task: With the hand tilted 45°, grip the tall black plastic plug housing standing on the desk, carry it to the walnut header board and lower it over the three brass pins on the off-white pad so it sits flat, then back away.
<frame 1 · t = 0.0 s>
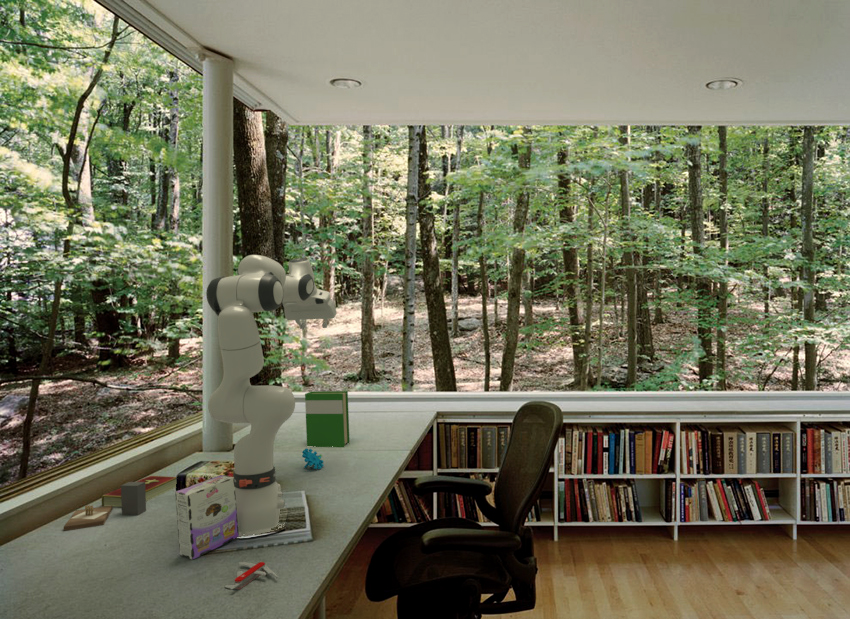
hand: (313, 327, 214), 54 cm above the table, tool tilted 30°, fingers open, 8 cm apart
plug housing: (134, 512, 166), on the table
header board: (89, 519, 162), on the table
candy box: (210, 546, 139), on the table, touching arm
swiss army knife: (247, 582, 120), on the table
gear: (313, 468, 208), on the table
hardback book: (328, 445, 244), on the table
hardcover book: (141, 497, 182), on the table
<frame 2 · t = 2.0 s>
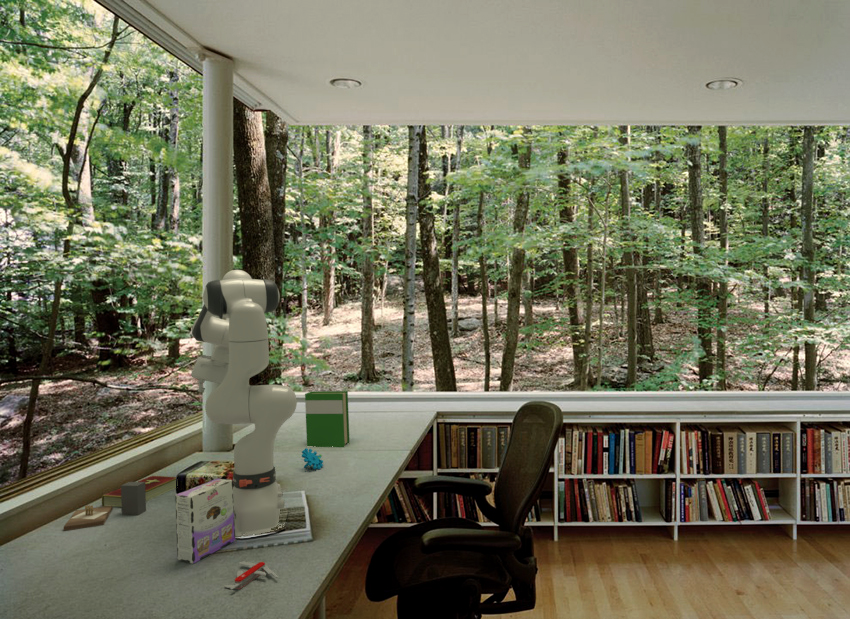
hand: (212, 394, 199), 31 cm above the table, tool tilted 20°, fingers open, 8 cm apart
candy box: (207, 551, 137), on the table
everything else where it was.
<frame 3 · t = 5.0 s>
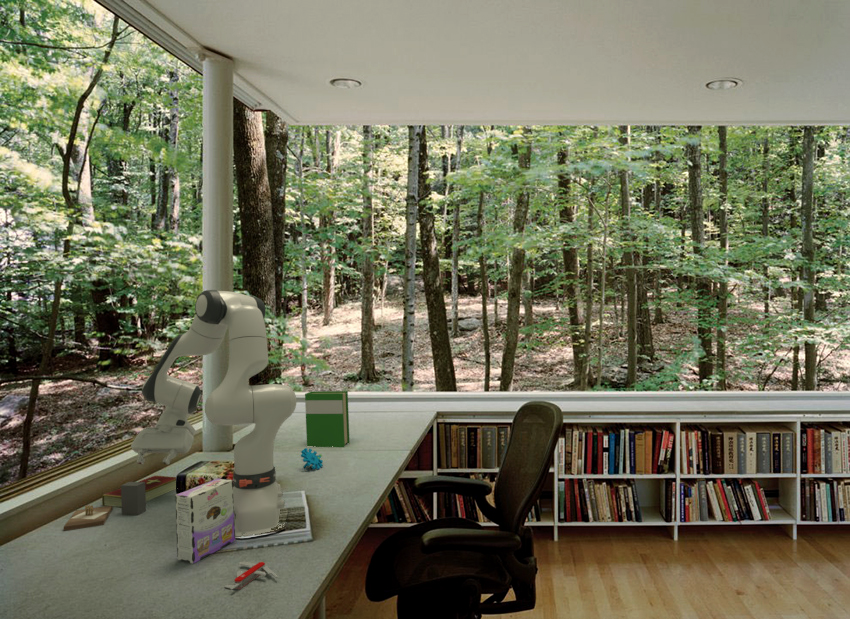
hand: (152, 463, 176), 13 cm above the table, tool tilted 45°, fingers open, 8 cm apart
nothing on the table moved.
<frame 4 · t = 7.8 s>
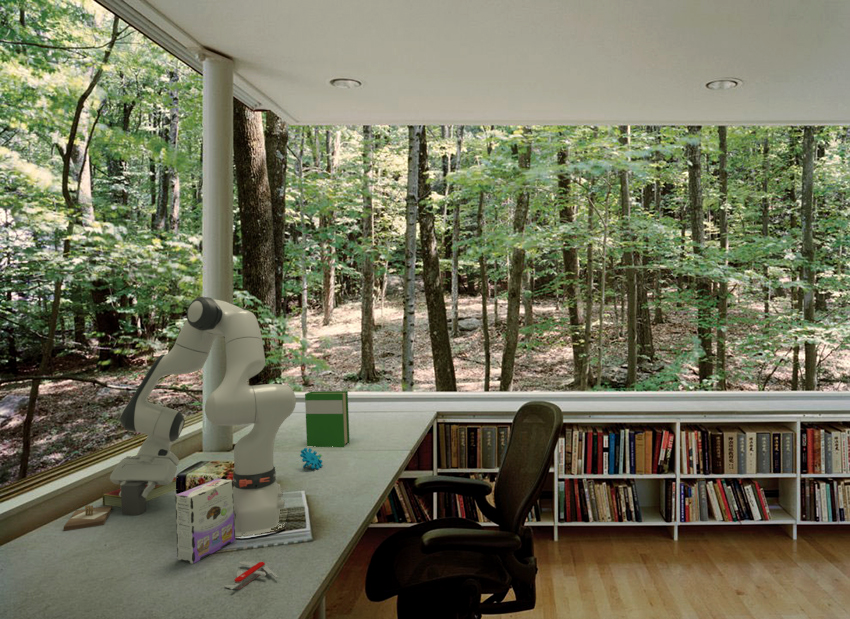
hand: (132, 496, 166), 5 cm above the table, tool tilted 45°, fingers closed on plug housing, 6 cm apart
plug housing: (134, 512, 166), on the table, touching gripper
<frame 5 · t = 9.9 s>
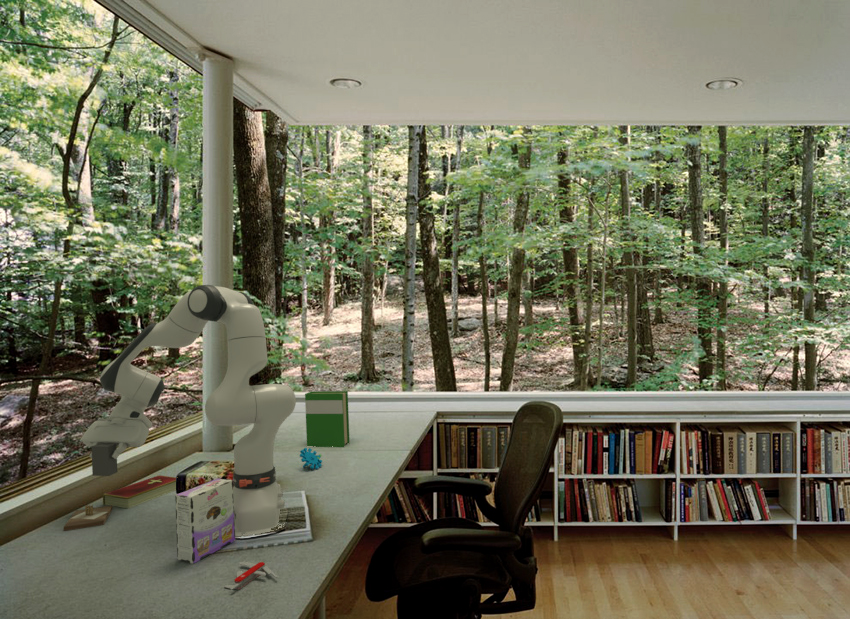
hand: (102, 457, 164), 18 cm above the table, tool tilted 45°, fingers closed on plug housing, 6 cm apart
plug housing: (105, 473, 165), point 13 cm above the table, touching gripper
when the fingers open (7 cm above the table, at t = 12.5 s): plug housing stays where it is, resting on header board.
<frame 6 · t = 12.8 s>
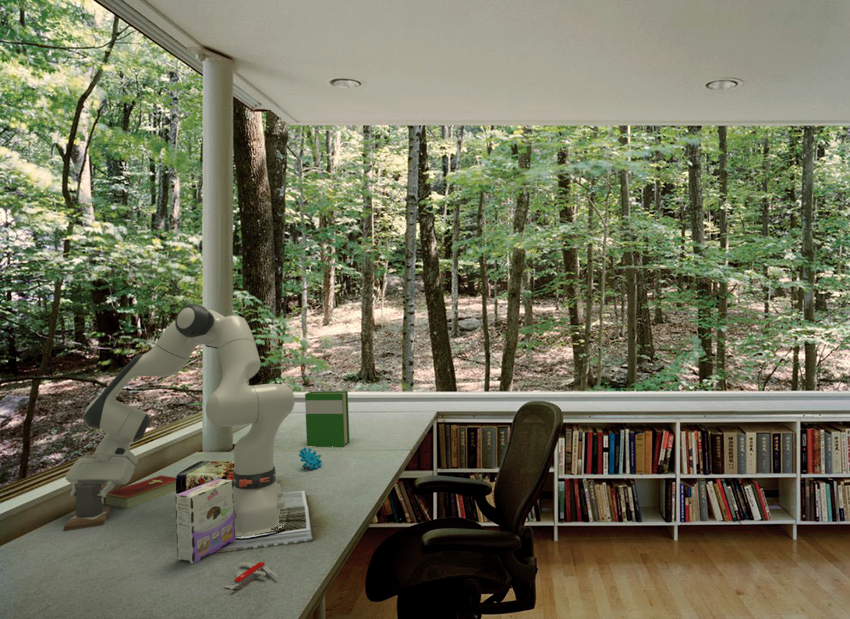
hand: (87, 496, 162), 7 cm above the table, tool tilted 45°, fingers open, 8 cm apart
plug housing: (89, 515, 162), point 1 cm above the table, touching header board
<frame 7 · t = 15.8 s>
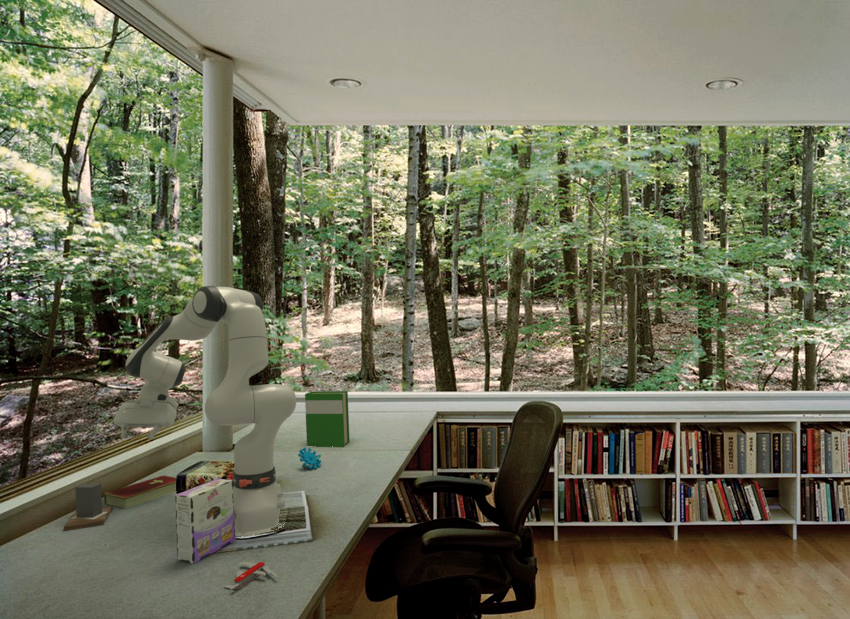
hand: (136, 438, 178), 21 cm above the table, tool tilted 35°, fingers open, 8 cm apart
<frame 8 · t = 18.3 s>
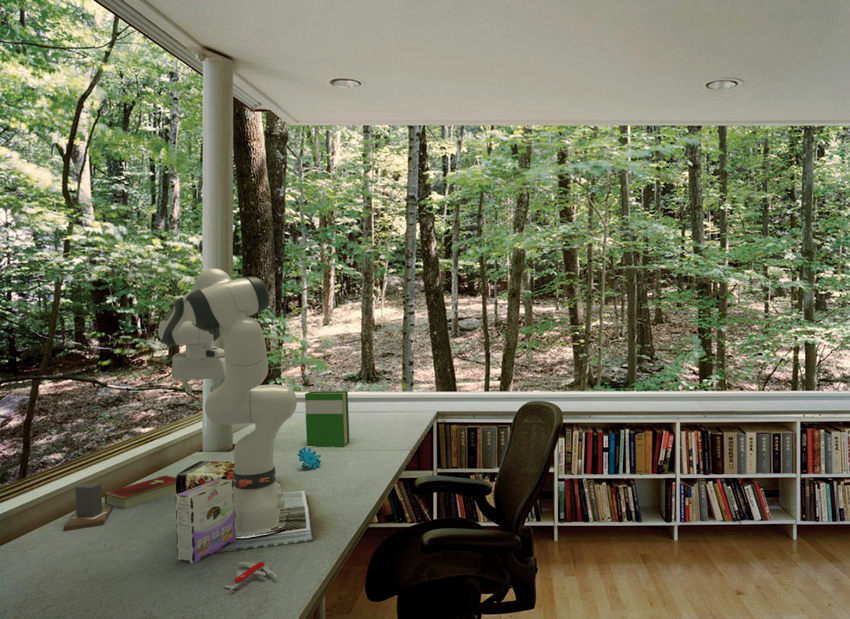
hand: (201, 392, 186), 34 cm above the table, tool pointing down, fingers open, 8 cm apart
at the end: plug housing 0.0 cm off-centre on the header board, point 1.3 cm above the header board's base; plug housing tilted 0°; the gripper is holding nothing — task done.
